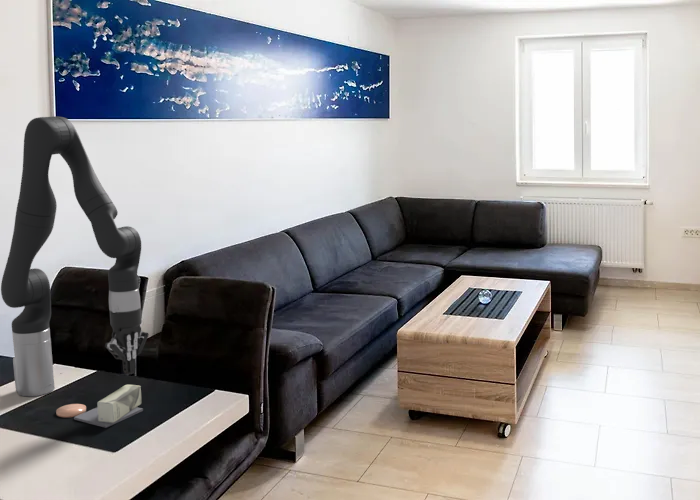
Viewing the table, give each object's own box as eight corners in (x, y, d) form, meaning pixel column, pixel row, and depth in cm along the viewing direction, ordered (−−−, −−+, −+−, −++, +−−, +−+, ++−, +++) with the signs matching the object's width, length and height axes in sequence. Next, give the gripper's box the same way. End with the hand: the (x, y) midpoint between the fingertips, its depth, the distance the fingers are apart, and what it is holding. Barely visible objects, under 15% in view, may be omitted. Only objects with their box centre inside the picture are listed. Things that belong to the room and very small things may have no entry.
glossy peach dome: (50, 414, 186) (50, 411, 186) (73, 405, 192) (73, 402, 192) (69, 419, 182) (69, 416, 182) (92, 409, 188) (92, 406, 188)
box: (142, 403, 190) (114, 424, 178) (126, 402, 191) (97, 422, 179) (140, 384, 189) (112, 403, 177) (125, 382, 190) (96, 402, 178)
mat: (74, 419, 182) (73, 417, 182) (111, 403, 193) (111, 401, 192) (106, 427, 177) (105, 425, 177) (143, 410, 187) (142, 408, 187)
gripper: (133, 299, 194) (138, 363, 197) (93, 311, 183) (98, 378, 186) (155, 302, 191) (159, 368, 194) (115, 314, 179) (120, 383, 182)
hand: (129, 373), depth 190 cm, fingers closed
